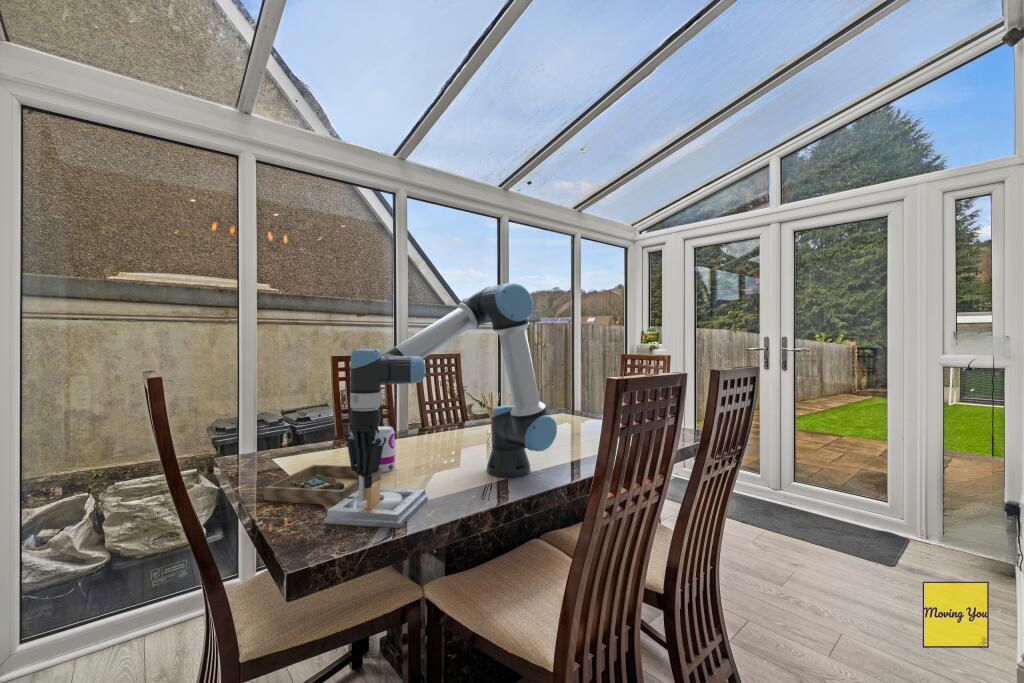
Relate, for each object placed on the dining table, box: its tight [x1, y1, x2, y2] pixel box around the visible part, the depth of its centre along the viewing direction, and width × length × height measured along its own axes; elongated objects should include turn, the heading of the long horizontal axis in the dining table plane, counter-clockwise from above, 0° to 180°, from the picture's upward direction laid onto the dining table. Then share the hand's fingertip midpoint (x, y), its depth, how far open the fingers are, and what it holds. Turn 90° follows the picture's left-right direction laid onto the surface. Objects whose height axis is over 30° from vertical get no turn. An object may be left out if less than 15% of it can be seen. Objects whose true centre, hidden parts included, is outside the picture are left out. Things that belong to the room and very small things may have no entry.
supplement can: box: [378, 425, 396, 473], centre depth 163 cm, size 8×8×15 cm
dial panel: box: [323, 486, 429, 529], centre depth 125 cm, size 20×20×3 cm
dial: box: [356, 480, 402, 510], centre depth 124 cm, size 13×12×7 cm
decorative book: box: [290, 475, 346, 490], centre depth 140 cm, size 13×18×5 cm
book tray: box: [263, 463, 383, 506], centre depth 142 cm, size 24×24×4 cm
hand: (364, 499), depth 120 cm, fingers closed
